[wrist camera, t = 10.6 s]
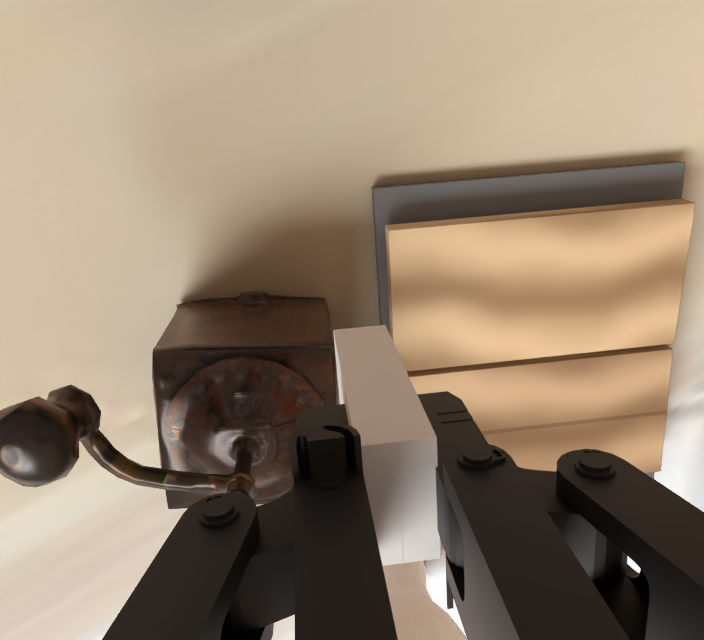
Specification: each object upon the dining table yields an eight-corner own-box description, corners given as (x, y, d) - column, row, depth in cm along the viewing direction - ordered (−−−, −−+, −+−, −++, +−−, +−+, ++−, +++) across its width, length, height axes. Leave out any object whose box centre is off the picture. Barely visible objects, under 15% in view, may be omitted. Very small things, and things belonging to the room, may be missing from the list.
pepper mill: (330, 287, 42) (355, 400, 25) (330, 430, 46) (354, 615, 28) (98, 292, 41) (-41, 415, 24) (117, 439, 44) (8, 639, 27)
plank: (385, 225, 39) (388, 230, 38) (681, 198, 41) (695, 203, 39) (391, 363, 43) (394, 372, 42) (661, 334, 44) (673, 343, 43)
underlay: (371, 187, 40) (373, 189, 39) (676, 161, 42) (684, 162, 41) (391, 507, 48) (393, 515, 47) (646, 477, 49) (653, 484, 48)
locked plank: (391, 370, 43) (395, 378, 42) (660, 342, 45) (672, 349, 43) (398, 490, 46) (401, 502, 45) (649, 460, 48) (660, 471, 46)
